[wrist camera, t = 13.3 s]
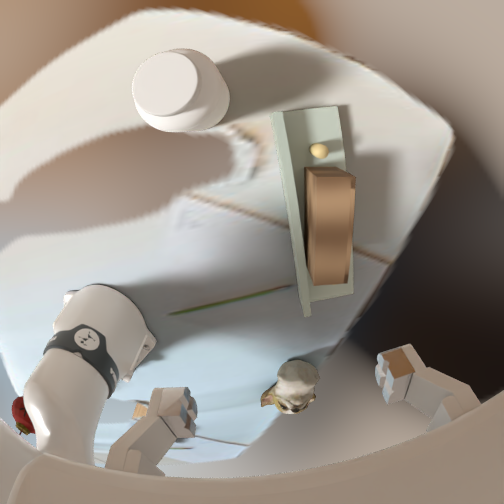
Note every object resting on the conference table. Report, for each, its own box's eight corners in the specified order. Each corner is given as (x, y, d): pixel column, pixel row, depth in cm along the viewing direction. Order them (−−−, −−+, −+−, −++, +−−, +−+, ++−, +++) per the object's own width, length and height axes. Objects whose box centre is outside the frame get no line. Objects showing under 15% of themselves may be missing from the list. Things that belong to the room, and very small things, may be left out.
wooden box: (332, 256, 38) (347, 283, 31) (303, 258, 38) (313, 285, 31) (336, 166, 33) (355, 176, 26) (304, 166, 33) (316, 176, 26)
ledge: (349, 286, 42) (360, 306, 37) (299, 296, 42) (304, 317, 38) (332, 107, 31) (345, 104, 26) (269, 114, 32) (272, 112, 27)
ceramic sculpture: (338, 390, 40) (311, 431, 47) (329, 352, 47) (307, 397, 55) (272, 389, 39) (257, 430, 46) (270, 348, 47) (258, 395, 54)
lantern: (69, 388, 56) (28, 479, 28) (40, 370, 54) (-7, 455, 26) (71, 370, 52) (22, 472, 25) (39, 350, 50) (-17, 444, 23)
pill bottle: (242, 86, 30) (236, 58, 17) (210, 141, 33) (182, 152, 20) (186, 61, 29) (145, 24, 15) (156, 115, 32) (98, 113, 18)
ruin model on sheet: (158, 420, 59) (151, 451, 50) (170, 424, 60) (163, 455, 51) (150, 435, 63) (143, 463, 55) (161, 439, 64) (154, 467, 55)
